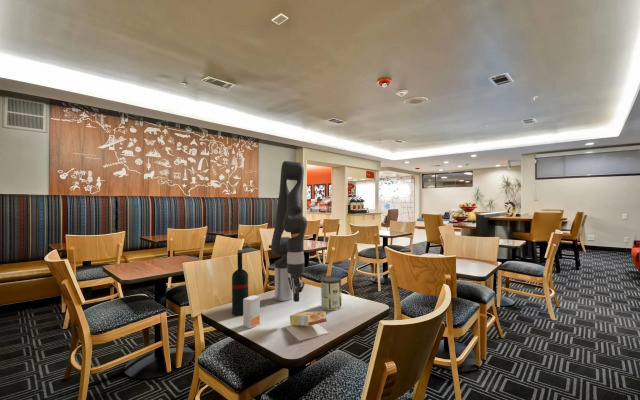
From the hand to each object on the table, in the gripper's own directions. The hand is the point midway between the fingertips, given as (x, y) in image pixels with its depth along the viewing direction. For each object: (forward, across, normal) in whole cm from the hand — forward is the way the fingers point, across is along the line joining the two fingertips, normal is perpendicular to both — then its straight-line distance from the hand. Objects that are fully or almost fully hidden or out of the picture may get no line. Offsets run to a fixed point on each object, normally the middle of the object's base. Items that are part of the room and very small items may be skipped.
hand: (296, 301), depth 133 cm
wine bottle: (+9, +25, +18) cm, 32 cm away
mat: (+9, -10, 0) cm, 14 cm away
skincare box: (+9, +7, +18) cm, 21 cm away
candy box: (+7, -1, 0) cm, 7 cm away
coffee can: (+9, +9, -23) cm, 26 cm away
